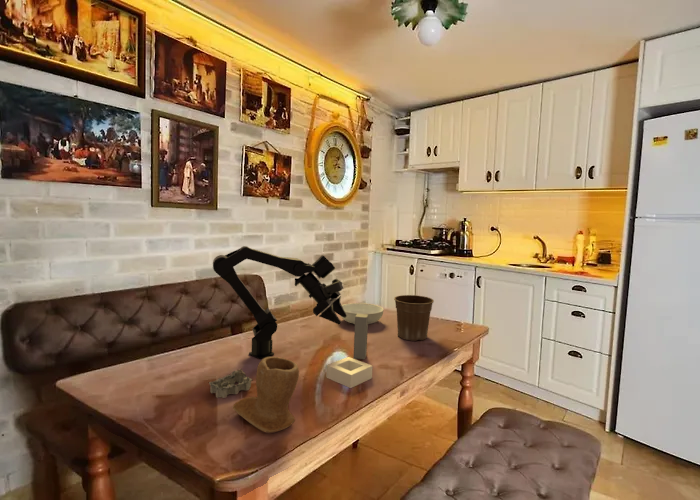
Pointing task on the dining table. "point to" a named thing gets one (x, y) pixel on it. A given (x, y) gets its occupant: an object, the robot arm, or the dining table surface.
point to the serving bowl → (362, 312)
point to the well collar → (349, 372)
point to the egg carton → (230, 384)
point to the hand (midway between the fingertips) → (343, 320)
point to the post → (360, 336)
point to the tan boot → (271, 395)
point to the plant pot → (413, 316)
